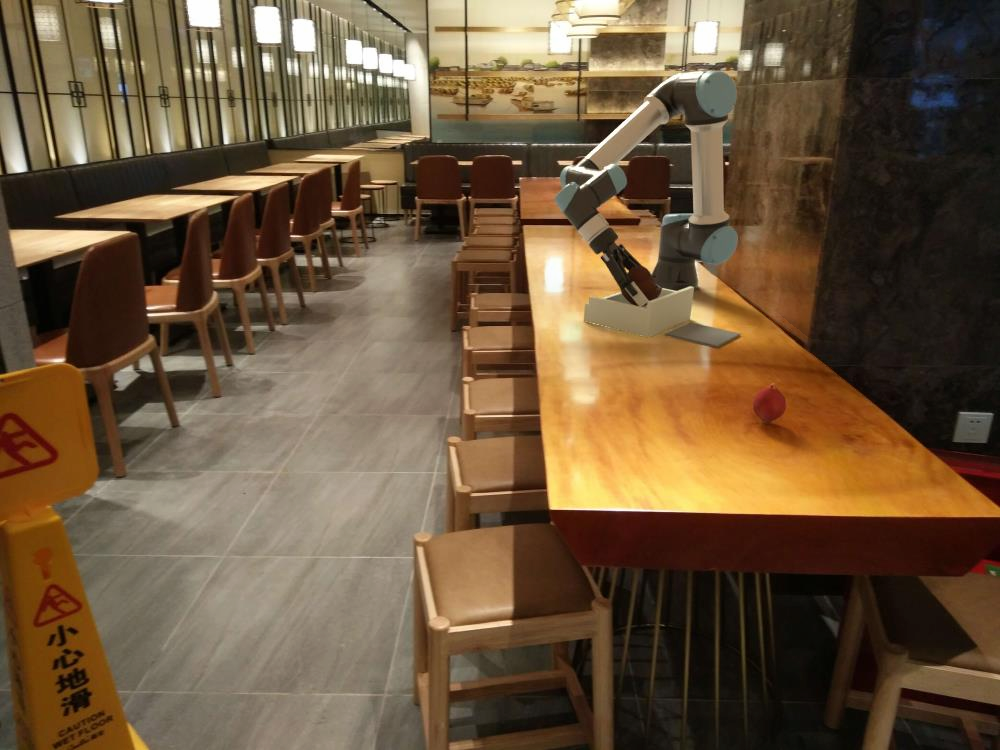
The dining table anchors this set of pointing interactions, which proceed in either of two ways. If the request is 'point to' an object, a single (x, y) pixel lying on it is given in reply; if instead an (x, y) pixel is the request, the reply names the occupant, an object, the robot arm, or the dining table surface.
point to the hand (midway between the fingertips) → (650, 299)
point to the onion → (769, 404)
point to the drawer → (641, 312)
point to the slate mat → (703, 334)
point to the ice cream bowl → (642, 284)
